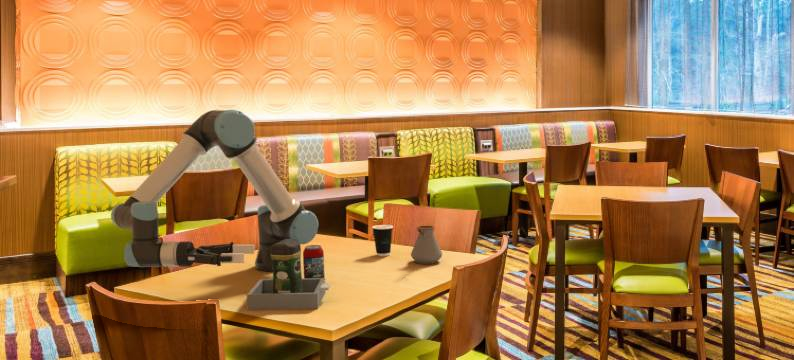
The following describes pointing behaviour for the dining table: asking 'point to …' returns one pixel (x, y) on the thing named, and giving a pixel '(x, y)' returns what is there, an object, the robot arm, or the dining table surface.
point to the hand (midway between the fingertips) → (249, 253)
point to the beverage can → (313, 261)
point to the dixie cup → (382, 239)
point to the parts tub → (287, 296)
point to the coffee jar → (287, 266)
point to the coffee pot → (426, 246)
